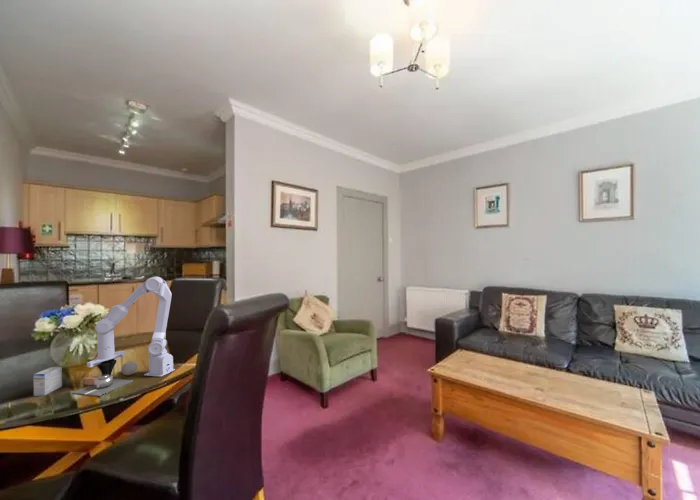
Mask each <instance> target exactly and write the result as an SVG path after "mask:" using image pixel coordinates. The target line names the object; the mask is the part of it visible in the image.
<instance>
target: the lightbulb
mask: <svg viewBox="0 0 700 500" xmlns="http://www.w3.org/2000/svg"><path fill="white" fill-rule="evenodd" d="M138 369H139V365H138V363H137V362H136V361H133V360H130V361H127V362H125V363H124V364H123V365H122V366H121V373H122V374H123V375H124V376H132V375H134V374H135V373H136V372H137V370H138Z"/></svg>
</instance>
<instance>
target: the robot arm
mask: <svg viewBox="0 0 700 500" xmlns="http://www.w3.org/2000/svg"><path fill="white" fill-rule="evenodd" d="M150 292H151V293H153V294H154V295H155V296H156V297H157V298H158V299H159V300H158V305H157V310H156V311H157V312H156V317H155V323H154V328H153V329H154V330H153V334H152V337H151V340H150V341H151V342H150V343H149V344H148V347H147V352H148V372H146V373H144V374H143V375H144V376H149V377H150V376H151V377H161V378H162V377H163V376H165V375H167V374H169V373H171V372H174V371H175V370H176V369H175V368H174V356H173V355H172V354H170V353H169V352H168V350H167V349H166V347H167V345H168V340H167V339H166V336H167V333H166V331H167V327H168V319H169V314H170V309H171V308H170V307H171V302H172V295H173V294H172V291H171V290H170V287H169V285H168V284H167V282H166V281H165V280H164V278H163V277H160V276H152V277H149V278H147V279H146V280H145V282H142V283H141V284H140V285H138V286H137V288H135V289H134V291H133V292H131V294H129V296H127V298H126V299H125V300H124V301H123V302H122V303H119V304H116V305H113V306H111V308H110V309H111V310H110V311H109V312H108V313H106V315H103V316H102V317H101V318H103V319H101V320H99V321H98V322H96V324H95V327H94V330H95V331H96V332H97V334H96V335H97V341H96V343H97V358H95V359H93V360H90V361H88V362H86V367H87V368H93V367H94V366H96V367H97V368H98V369H99V370H100V372H101V375H104V374H109V375H112V372H113V369H114V367H115V365H116V364H117V358H120V357H124V356H125V351H117V352H115V350H116V349H115V348H116V347H115V331H114V330H115V328H116V325H117V324H119V323H120V321H122V320H123V319H124V318H125V316H127V315H128V314H129V312H130V311H129V308H130V307H131V306H132V305H133V304H134V303H135V302H136V301H137V300H138V299H139V298H140V297H141V296H143V295H145V294H147V293H150Z"/></svg>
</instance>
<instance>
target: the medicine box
mask: <svg viewBox="0 0 700 500" xmlns="http://www.w3.org/2000/svg"><path fill="white" fill-rule="evenodd" d="M62 368H63V367H62V366H50V367H48V368H45V369H43V370H41V371H38V372H36V373H34V374H33V376H32V377H33V396H35V397H39V396H40V397H41V396H42V397H43V396H47V395H48V394H50V393H53V392H54V391H56V390H58V389H60V388H62V387H63V375H62V374H63V371H62Z"/></svg>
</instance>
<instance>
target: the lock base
mask: <svg viewBox="0 0 700 500" xmlns="http://www.w3.org/2000/svg"><path fill="white" fill-rule="evenodd" d="M133 382H134V380H133V379H132V380H131V379H130V380H129V379H123V378H122V379H121V378H113V384H111V385H109V386H107V387H103V388H94V385H87V386H84V387H83V388H80V389H78V390H75V391H72V392H71V394H72V395H79V396H80V395H81V396H90V397H98V396H100V397H101V395H102V394H104V395H106V394H108V393H110V391H111V392H112V390H113V391H115V390H117V389H119V388H122V387H123V386H126V385H129V384H131V383H133ZM105 393H106V394H105ZM102 396H103V395H102Z"/></svg>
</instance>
